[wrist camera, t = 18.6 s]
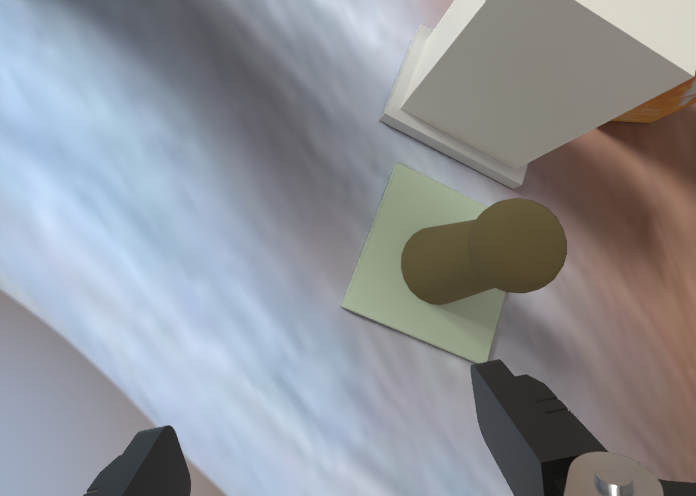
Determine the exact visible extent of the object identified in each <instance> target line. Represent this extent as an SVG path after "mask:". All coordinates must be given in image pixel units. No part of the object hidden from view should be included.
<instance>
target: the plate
mask: <svg viewBox="0 0 696 496" xmlns="http://www.w3.org/2000/svg"><path fill="white" fill-rule="evenodd" d="M487 208H488V207H487V206H485V205H483V204H481V203H479V202H477V201H475V200H473V199H471V198H469V197H467V196H465V195H463V194H461V193H459V192H457V191H455V190H453V189H451V188H449V187H447V186H445V185H443V184H441V183H439V182H437V181H435V180H433V179H431V178H429V177H427V176H425V175H423V174H421V173H419V172H417V171H415V170H413V169H411V168H409V167H407V166H405V165H403V164H401V163H399V162H398V163H397V164H396V165H395V166H394V168H393V171H392V174H391V176H390V179H389V181H388V184H387V187H386V189H385V192H384V195H383V197H382V200H381V202H380V205H379V208H378V210H377V213H376V216H375V218H374V221H373V223H372V226H371V229H370V231H369V234H368V237H367V239H366V242H365V244H364V247H363V250H362V252H361V255H360V258H359V260H358V263H357V265H356V268H355V271H354V273H353V276H352V278H351V281H350V284H349V286H348V289H347V292H346V294H345V297H344V299H343V302H342V305H341V307H342V308H344V309H347V310H349V311H351V312H354V313H356V314H359V315H361V316H363V317H366V318H368V319H371V320H373V321H376V322H378V323H380V324H383V325H385V326H388V327H390V328H392V329H395V330H397V331H400V332H402V333H404V334H407V335H409V336H412V337H414V338H416V339H419V340H421V341H424V342H426V343H428V344H431V345H433V346H436V347H438V348H441V349H443V350H445V351H448V352H450V353H453V354H455V355H457V356H460V357H462V358H465V359H467V360H469V361H472V362H474V363H477V364H478V363H483V362H487V359H488V355H489V352H490V348H491V344H492V341H493V337H494V334H495V330H496V326H497V323H498V319H499V316H500V312H501V309H502V305H503V301H504V298H505V294H506V292H504V291H501V290H498V289H496V288H494V289H491V290H488V291H485V292H482V293H479V294H476V295H473V296H470V297H467V298H464V299H460V300H457V301H454V302H451V303H447V304H443V305H437V304H429V303H427V302H425V301H423V300H421V299H419V298H418V297H417V296H416V295H415V294H413V293H412V292H411V291H410V289H409V288H408V286H407V284H406V282H405V281H404V279H403V274H402V270H401V254H402V252H403V249H404V247H405V244H406V242H407V241H408V240H409V239H410V237H411V236H412V235H413V234H414V233H416V232H418V231H420V230H421V229H423V228H429V227H434V226H440V225H446V224H452V223H458V222H464V221H470V220H476V219H477V218H478V216H479V215H480V214H481V213H482V212H483V211H484V210H485V209H487Z"/></svg>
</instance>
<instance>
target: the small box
mask: <svg viewBox="0 0 696 496" xmlns="http://www.w3.org/2000/svg"><path fill="white" fill-rule="evenodd" d="M693 103H696V71H695V76H694V77H693V78H691V79H689V80H687V81H685V82H683V83H681V84H679V85H678V86H676V87H674V88H672V89H670V90H668V91H666V92H664V93H662V94H660V95H658V96H656V97H654V98H652V99H650V100H649V101H647V102H645V103H643V104H641V105H639V106H637V107H635V108H633V109H631V110H629V111H627V112H625V113H623V114H622V115H620V116H618V117H616V118H614V119H612V120H610V121H622V122H639V123H652V122H654V121H656V120H658V119H660V118H663V117H665V116H667V115H669V114H672V113H674V112H676V111H678V110H680V109H682V108H685V107H687V106H689V105H691V104H693Z"/></svg>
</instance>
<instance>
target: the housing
mask: <svg viewBox="0 0 696 496" xmlns="http://www.w3.org/2000/svg"><path fill="white" fill-rule="evenodd" d="M695 71H696V0H454V2H453V3H452V4H451V6H450V7H449V9H448V10H447V12H446V13H445V15H444V16H443V17H442V19H441V20H440V22H439V23H438V25H437V26H436V27H435V29H434V30H433V31H432V30H430V29H428V28H427V27H425V26H423V25H421V24H420V26H419V27H418V29H417V30H416V32H415V34H414V36H413V38H412V41H411V43H410V46H409V48H408V51H407V53H406V56H405V58H404V61H403V63H402V66H401V68H400V71H399V73H398V76H397V78H396V80H395V83H394V85H393V88H392V90H391V93H390V95H389V98H388V100H387V103H386V105H385V108H384V110H383V113H382V115H381V117H380V121H382V122H384V123H386V124H388V125H389V126H391V127H393V128H395V129H397V130H399V131H401V132H403V133H405V134H407V135H409V136H411V137H413V138H415V139H417V140H419V141H420V142H422V143H424V144H426V145H428V146H430V147H432V148H434V149H436V150H438V151H440V152H442V153H444V154H446V155H448V156H449V157H451V158H453V159H455V160H457V161H459V162H461V163H463V164H465V165H467V166H469V167H471V168H473V169H475V170H477V171H478V172H480V173H482V174H484V175H486V176H488V177H490V178H492V179H494V180H496V181H498V182H500V183H502V184H504V185H506V186H507V187H509V188H511V189H514V188H517V187H519V186H521V185H522V184H523V180H524V177H525V173H526V170H527V166H528V163H529V162H531V161H533V160H535V159H537V158H539V157H540V156H542V155H544V154H546V153H548V152H550V151H552V150H554V149H556V148H558V147H560V146H562V145H564V144H566V143H567V142H569V141H571V140H573V139H575V138H577V137H579V136H581V135H583V134H585V133H587V132H589V131H591V130H593V129H595V128H596V127H598V126H600V125H602V124H604V123H606V122H608V121H610V120H612V119H614V118H616V117H618V116H620V115H622V114H623V113H625V112H627V111H629V110H631V109H633V108H635V107H637V106H639V105H641V104H643V103H645V102H647V101H649V100H650V99H652V98H654V97H656V96H658V95H660V94H662V93H664V92H666V91H668V90H670V89H672V88H674V87H676V86H678V85H679V84H681V83H683V82H685V81H687V80H689V79H691V78H693V77H694V76H695Z"/></svg>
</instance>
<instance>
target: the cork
mask: <svg viewBox="0 0 696 496" xmlns="http://www.w3.org/2000/svg"><path fill="white" fill-rule="evenodd" d="M566 255H567V241H566V237H565V233H564V230H563V227H562V226H561V224H560V222H559V220H558V219H557V217H556V216H555V215H554V214H553V213H552V212H551V211H550V210H549V209H548V208H546V207H544V206H542V205H540V204H539V203H537V202H534V201H532V200H527V199H521V198H516V199H508V200H503V201H500V202H497V203H495V204H493V205H492V206H490V207H488V208H487V209H485V210H484V211H483V212H482V213H481V214H480V215H479V216H478V218H477V219H476V220H470V221H464V222H458V223H452V224H446V225H440V226H434V227H429V228H423V229H421V230H420V231H418V232H416V233H414V234H413V235H412V236H411V237H410V239H409V240H408V241H407V242H406V244H405V247H404V249H403V252H402V254H401V270H402V274H403V279H404V281H405V282H406V284H407V286H408V288H409V289H410V291H411V292H412V293H413V294H415V295H416V296H417V297H418V298H419V299H421V300H423V301H425V302H427V303H429V304H437V305H443V304H447V303H451V302H454V301H457V300H460V299H464V298H467V297H470V296H473V295H476V294H479V293H482V292H485V291H488V290H491V289H494V288H496V289H498V290H501V291H504V292H511V293H527V292H531V291H535V290H538V289H540V288H543V287H544V286H546V285H547V284H549V283H550V282H551V281H553V280H554V279H555V277H556V276H557V274H558V273H559V271H560V270H561V268H562V267H563V265H564V262H565V258H566Z"/></svg>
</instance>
